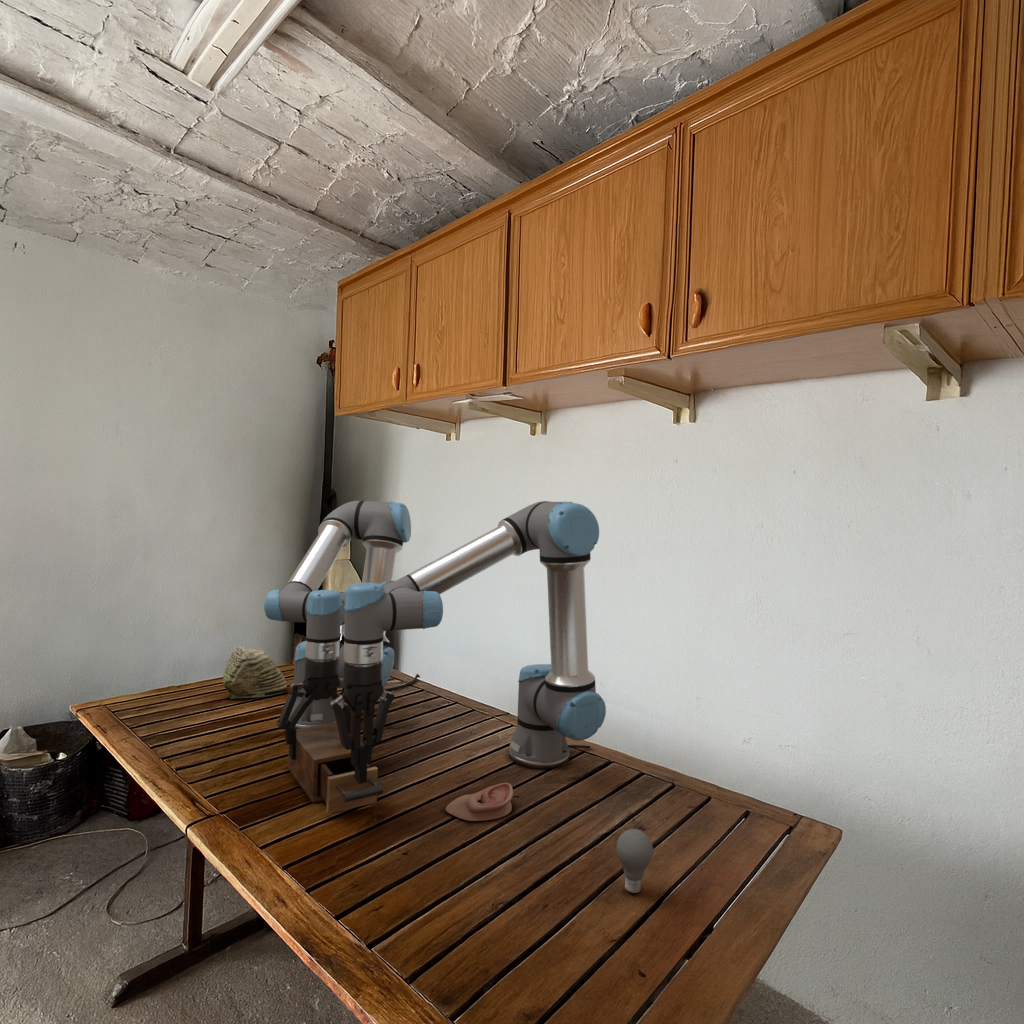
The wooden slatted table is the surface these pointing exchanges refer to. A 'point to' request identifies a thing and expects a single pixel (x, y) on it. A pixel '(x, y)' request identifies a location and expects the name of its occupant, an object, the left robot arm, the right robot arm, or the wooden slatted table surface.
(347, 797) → the drawer
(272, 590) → the left robot arm
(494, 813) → the anatomical model
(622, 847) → the light bulb
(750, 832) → the wooden slatted table surface
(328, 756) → the cabinet
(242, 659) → the fossil
